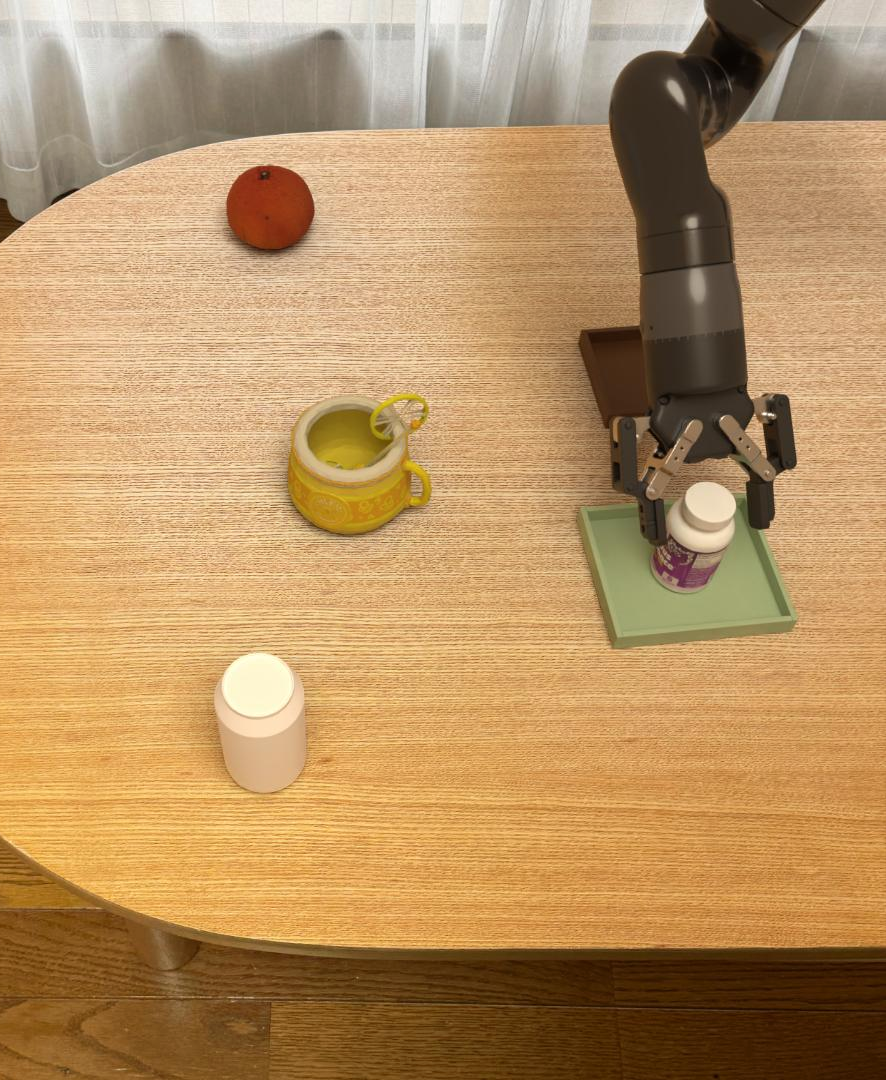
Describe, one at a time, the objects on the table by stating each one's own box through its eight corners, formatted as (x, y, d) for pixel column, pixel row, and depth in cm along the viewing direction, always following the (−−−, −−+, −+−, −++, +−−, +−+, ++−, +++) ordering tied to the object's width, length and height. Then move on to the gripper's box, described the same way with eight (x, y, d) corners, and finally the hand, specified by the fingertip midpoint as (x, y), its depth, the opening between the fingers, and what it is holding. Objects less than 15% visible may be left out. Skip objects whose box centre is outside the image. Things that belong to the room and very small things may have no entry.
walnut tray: (706, 333, 116) (711, 319, 114) (740, 417, 109) (746, 403, 108) (577, 343, 115) (581, 329, 113) (604, 428, 108) (608, 415, 107)
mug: (268, 523, 101) (261, 432, 92) (314, 433, 107) (312, 339, 98) (408, 566, 99) (416, 478, 89) (447, 472, 105) (459, 379, 95)
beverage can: (314, 789, 87) (311, 716, 78) (231, 805, 87) (218, 733, 77) (299, 715, 91) (294, 636, 81) (219, 730, 90) (205, 652, 80)
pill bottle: (636, 555, 100) (662, 485, 92) (689, 535, 101) (719, 465, 93) (670, 605, 97) (700, 537, 89) (725, 584, 98) (759, 515, 90)
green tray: (742, 505, 103) (748, 492, 102) (791, 631, 96) (798, 619, 94) (576, 520, 102) (579, 507, 101) (612, 649, 95) (617, 637, 93)
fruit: (219, 258, 121) (212, 194, 114) (242, 203, 126) (237, 140, 119) (302, 272, 120) (301, 208, 113) (322, 216, 125) (322, 153, 118)
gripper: (621, 341, 85) (642, 559, 88) (805, 315, 87) (818, 529, 90) (586, 342, 92) (605, 543, 95) (755, 317, 94) (769, 515, 97)
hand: (709, 536), depth 92 cm, fingers open, 8 cm apart
